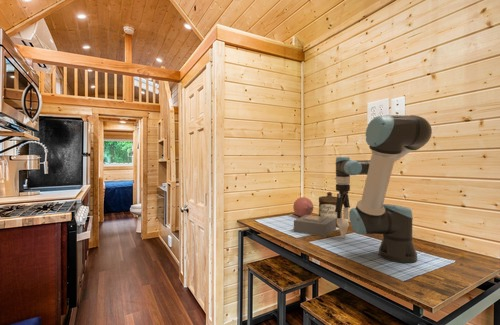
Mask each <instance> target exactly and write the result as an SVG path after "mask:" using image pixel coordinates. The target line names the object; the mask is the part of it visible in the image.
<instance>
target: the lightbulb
mask: <svg viewBox="0 0 500 325" xmlns="http://www.w3.org/2000/svg"><path fill="white" fill-rule="evenodd" d="M337 225H338V226H337V227H338V229H339V233H340V237H341V238H342V239H345V238H346V234H347V231H348V228H349V226H350V223H349V221H348V219H343V218H342V224H337Z"/></svg>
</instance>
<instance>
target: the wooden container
mask: <svg viewBox="0 0 500 325" xmlns="http://www.w3.org/2000/svg"><path fill="white" fill-rule="evenodd" d="M336 202H337V196H333V193H332V192H331V191H328V192H326V195H325V196H319V197H318V216H321V217H330V218H336V227H338V225H337V212H335V209H336Z"/></svg>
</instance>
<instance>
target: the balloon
mask: <svg viewBox="0 0 500 325" xmlns="http://www.w3.org/2000/svg"><path fill="white" fill-rule="evenodd" d="M292 206H293V211H294V213H295V214H296V215H297V216H298V217H299V218H300V217H302V216H305V215H312V213H313V212H314V204H313V202H312V200H311V199H310V198H308V197H303V196H302V197H299V198H296V199H295V201H294V203H293V205H292Z"/></svg>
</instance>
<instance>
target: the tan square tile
mask: <svg viewBox="0 0 500 325" xmlns="http://www.w3.org/2000/svg"><path fill="white" fill-rule="evenodd" d="M312 215H313V214H310V216H308V217H306V218H304V220H308V221H316V222H322V221H324V220H325V219H326V217H320V216H319V215H313V216H312Z"/></svg>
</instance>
